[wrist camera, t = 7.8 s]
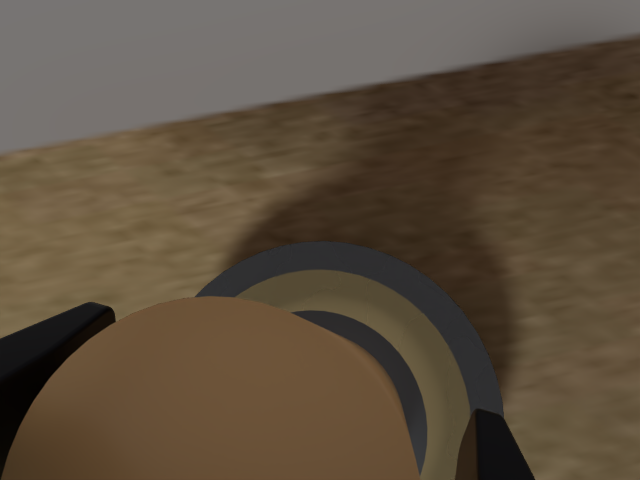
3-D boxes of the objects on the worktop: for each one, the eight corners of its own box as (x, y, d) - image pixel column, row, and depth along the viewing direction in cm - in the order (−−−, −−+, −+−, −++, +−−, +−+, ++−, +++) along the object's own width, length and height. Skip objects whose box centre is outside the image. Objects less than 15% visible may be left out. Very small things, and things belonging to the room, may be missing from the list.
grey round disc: (466, 621, 17) (485, 677, 14) (144, 543, 19) (97, 577, 16) (501, 284, 20) (524, 266, 17) (213, 240, 21) (183, 216, 18)
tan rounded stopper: (454, 509, 15) (573, 781, 5) (236, 565, 15) (-23, 914, 6) (388, 288, 17) (386, 189, 7) (190, 344, 17) (-74, 325, 7)
